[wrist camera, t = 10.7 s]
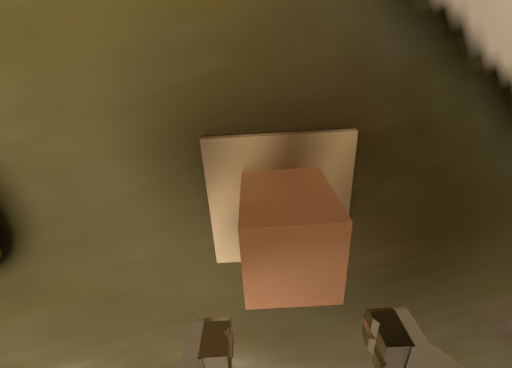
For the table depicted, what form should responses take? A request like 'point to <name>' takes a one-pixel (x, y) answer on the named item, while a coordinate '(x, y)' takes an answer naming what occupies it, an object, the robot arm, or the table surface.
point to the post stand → (269, 158)
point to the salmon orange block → (292, 239)
